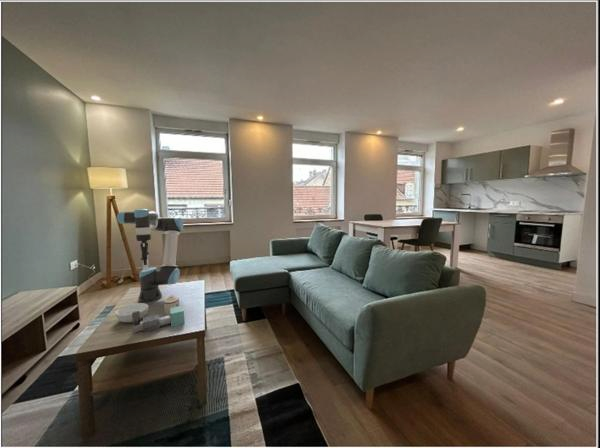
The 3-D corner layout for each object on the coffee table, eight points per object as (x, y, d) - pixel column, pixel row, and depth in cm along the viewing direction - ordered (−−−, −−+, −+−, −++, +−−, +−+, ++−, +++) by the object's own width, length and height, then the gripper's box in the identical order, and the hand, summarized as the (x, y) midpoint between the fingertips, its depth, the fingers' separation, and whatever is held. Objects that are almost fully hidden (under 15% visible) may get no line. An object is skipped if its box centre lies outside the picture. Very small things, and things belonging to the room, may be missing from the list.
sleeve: (143, 327, 142) (143, 317, 141) (159, 323, 146) (158, 313, 145) (143, 333, 136) (142, 322, 135) (159, 328, 140) (159, 318, 139)
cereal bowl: (111, 328, 141) (110, 316, 141) (123, 315, 157) (122, 305, 156) (144, 323, 146) (143, 312, 145) (152, 311, 162) (151, 301, 161)
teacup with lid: (177, 315, 157) (176, 297, 155) (162, 316, 154) (161, 299, 153) (182, 307, 168) (181, 291, 167) (167, 308, 166) (166, 292, 165)
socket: (170, 320, 150) (169, 308, 149) (183, 317, 153) (182, 305, 152) (171, 326, 142) (170, 313, 141) (184, 323, 146) (183, 310, 145)
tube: (133, 329, 137) (132, 312, 136) (177, 318, 149) (176, 302, 148) (133, 332, 134) (131, 314, 133) (178, 321, 146) (177, 304, 145)
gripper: (137, 232, 158) (139, 263, 160) (134, 237, 136) (137, 273, 139) (150, 231, 161) (153, 262, 164) (150, 235, 140) (153, 271, 142)
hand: (146, 267), depth 151 cm, fingers open, 13 cm apart
